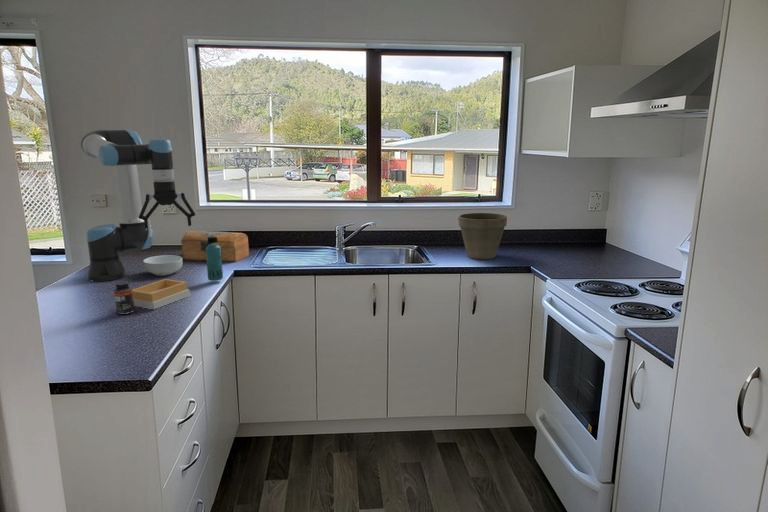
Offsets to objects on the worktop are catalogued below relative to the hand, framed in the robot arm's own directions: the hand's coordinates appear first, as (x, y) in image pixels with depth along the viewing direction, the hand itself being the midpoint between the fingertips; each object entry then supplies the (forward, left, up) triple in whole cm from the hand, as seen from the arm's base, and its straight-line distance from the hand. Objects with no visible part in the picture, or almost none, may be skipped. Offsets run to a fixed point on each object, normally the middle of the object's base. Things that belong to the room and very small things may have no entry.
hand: (169, 235), depth 202 cm
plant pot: (+97, +114, -25) cm, 152 cm away
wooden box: (-29, +57, -25) cm, 69 cm away
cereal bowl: (-30, +23, -25) cm, 45 cm away
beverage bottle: (+2, +21, -25) cm, 33 cm away
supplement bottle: (-1, -23, -25) cm, 34 cm away
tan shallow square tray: (-2, -8, -24) cm, 26 cm away
